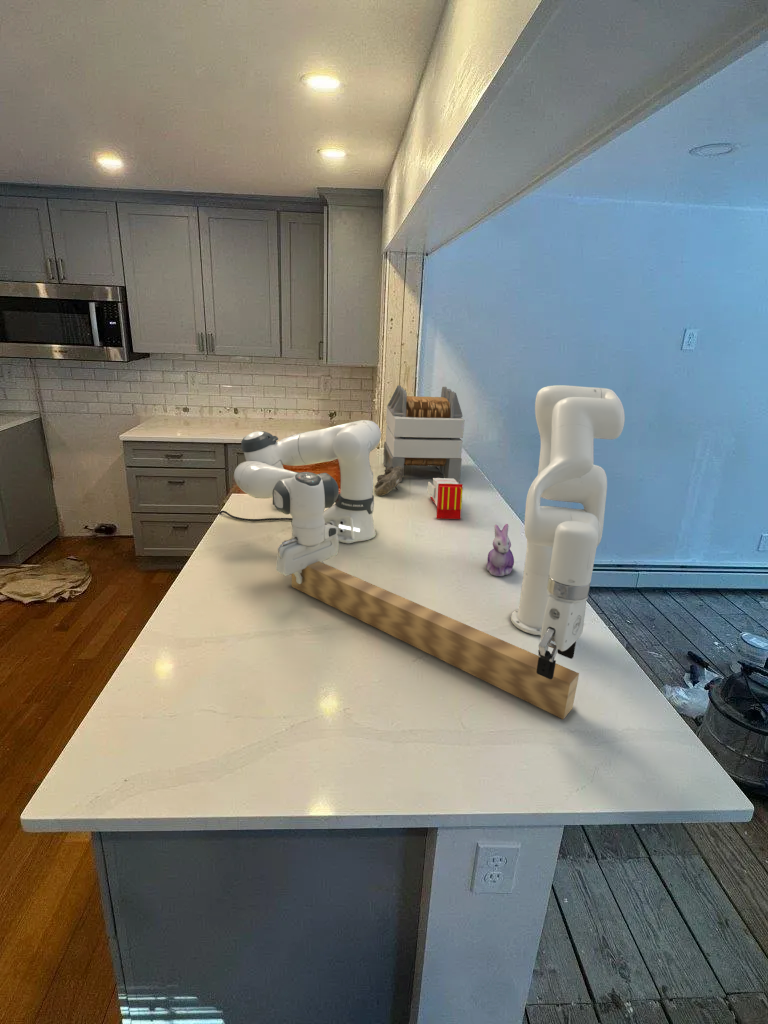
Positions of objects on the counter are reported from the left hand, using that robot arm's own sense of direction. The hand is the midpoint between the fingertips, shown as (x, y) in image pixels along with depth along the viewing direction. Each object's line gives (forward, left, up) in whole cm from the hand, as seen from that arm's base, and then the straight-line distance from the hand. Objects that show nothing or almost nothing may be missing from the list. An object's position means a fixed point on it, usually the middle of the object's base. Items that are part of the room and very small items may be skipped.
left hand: (308, 579), depth 157 cm
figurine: (+50, +32, -3) cm, 59 cm away
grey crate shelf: (+3, +129, -3) cm, 129 cm away
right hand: (+65, -30, +7) cm, 72 cm away
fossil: (-4, +98, -3) cm, 98 cm away
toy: (+23, +84, -3) cm, 87 cm away
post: (+33, -15, -3) cm, 36 cm away
